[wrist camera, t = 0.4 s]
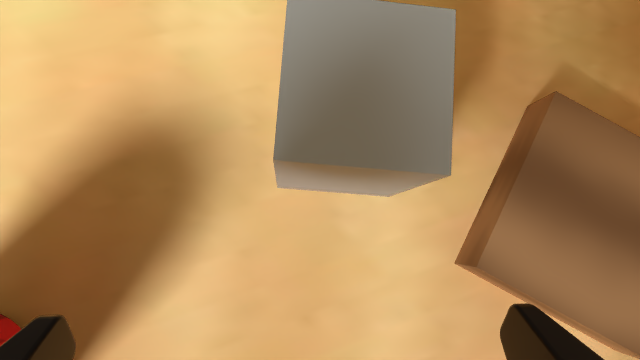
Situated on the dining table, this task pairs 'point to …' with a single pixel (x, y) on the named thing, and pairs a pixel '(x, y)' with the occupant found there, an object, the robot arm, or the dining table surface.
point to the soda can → (7, 329)
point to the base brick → (566, 222)
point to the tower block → (365, 96)
